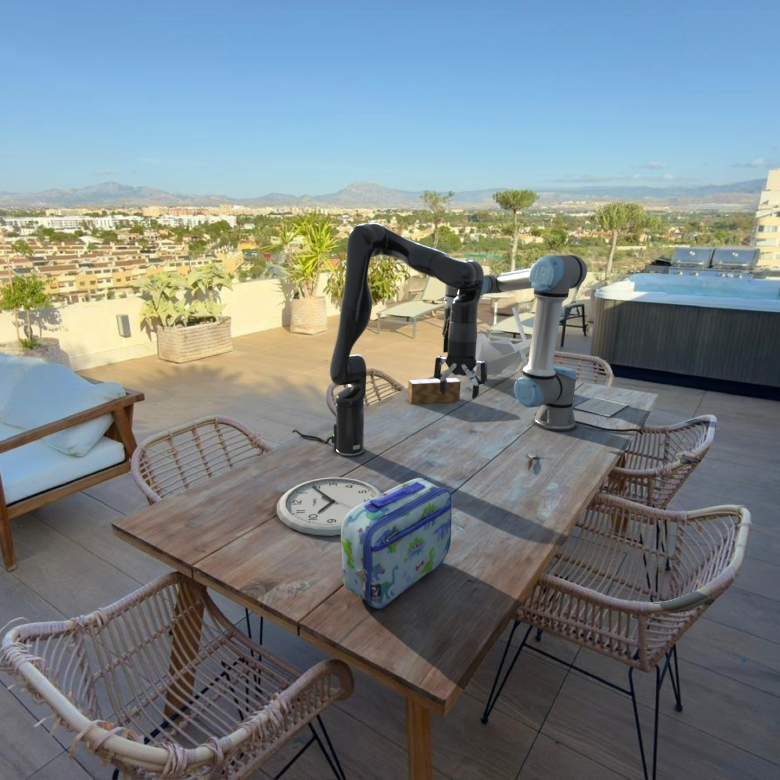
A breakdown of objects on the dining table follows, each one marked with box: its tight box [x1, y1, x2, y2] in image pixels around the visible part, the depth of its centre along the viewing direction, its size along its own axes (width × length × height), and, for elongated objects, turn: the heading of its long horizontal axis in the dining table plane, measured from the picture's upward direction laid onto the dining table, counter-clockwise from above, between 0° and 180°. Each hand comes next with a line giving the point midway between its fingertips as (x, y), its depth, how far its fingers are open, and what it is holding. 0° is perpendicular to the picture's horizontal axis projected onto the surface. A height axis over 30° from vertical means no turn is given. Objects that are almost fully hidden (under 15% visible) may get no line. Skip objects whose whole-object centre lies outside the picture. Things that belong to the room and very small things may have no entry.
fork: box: [527, 446, 538, 471], centre depth 171 cm, size 3×16×2 cm, turn 160°
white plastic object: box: [464, 307, 532, 378], centre depth 258 cm, size 37×45×31 cm
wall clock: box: [276, 476, 383, 537], centre depth 142 cm, size 30×2×30 cm
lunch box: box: [340, 477, 452, 610], centre depth 110 cm, size 26×11×21 cm, turn 134°
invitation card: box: [573, 396, 629, 418], centre depth 226 cm, size 21×1×15 cm
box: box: [407, 377, 461, 405], centre depth 230 cm, size 22×6×9 cm, turn 102°
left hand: (459, 395), depth 144 cm, fingers open, 8 cm apart
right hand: (451, 355), depth 226 cm, fingers open, 13 cm apart
